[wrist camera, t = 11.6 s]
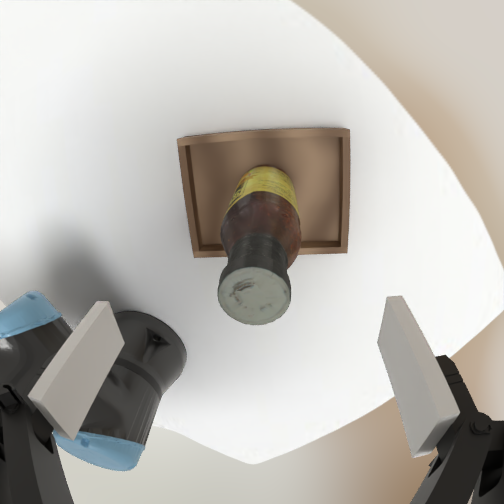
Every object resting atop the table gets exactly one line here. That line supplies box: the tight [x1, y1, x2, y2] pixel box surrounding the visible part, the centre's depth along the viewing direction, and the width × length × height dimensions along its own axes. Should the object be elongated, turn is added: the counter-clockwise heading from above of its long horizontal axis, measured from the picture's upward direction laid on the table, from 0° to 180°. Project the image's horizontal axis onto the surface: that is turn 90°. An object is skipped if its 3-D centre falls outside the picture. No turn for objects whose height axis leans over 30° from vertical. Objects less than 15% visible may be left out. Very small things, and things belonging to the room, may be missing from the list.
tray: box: [177, 128, 350, 258], centre depth 34 cm, size 18×14×3 cm
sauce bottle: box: [218, 165, 301, 325], centre depth 25 cm, size 6×6×20 cm
